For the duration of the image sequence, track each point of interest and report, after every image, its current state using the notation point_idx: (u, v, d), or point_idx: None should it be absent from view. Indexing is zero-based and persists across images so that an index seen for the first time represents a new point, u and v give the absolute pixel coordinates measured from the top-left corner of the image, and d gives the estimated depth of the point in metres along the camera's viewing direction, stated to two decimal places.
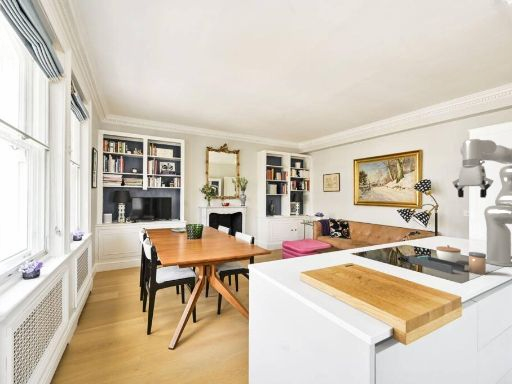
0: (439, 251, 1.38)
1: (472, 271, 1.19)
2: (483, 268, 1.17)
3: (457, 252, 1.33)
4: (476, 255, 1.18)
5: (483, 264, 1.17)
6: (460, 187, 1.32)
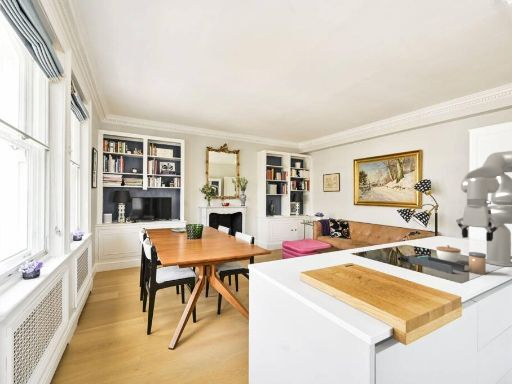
0: (439, 251, 1.38)
1: (472, 271, 1.19)
2: (483, 268, 1.17)
3: (457, 252, 1.33)
4: (476, 255, 1.18)
5: (483, 264, 1.17)
6: (464, 227, 1.23)
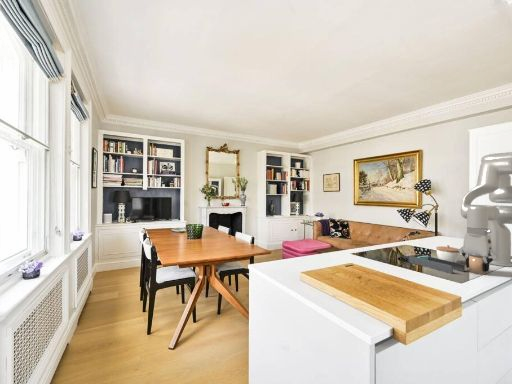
0: (439, 251, 1.38)
1: (472, 271, 1.19)
2: None
3: (457, 252, 1.33)
4: (476, 255, 1.18)
5: None
6: (468, 256, 1.22)
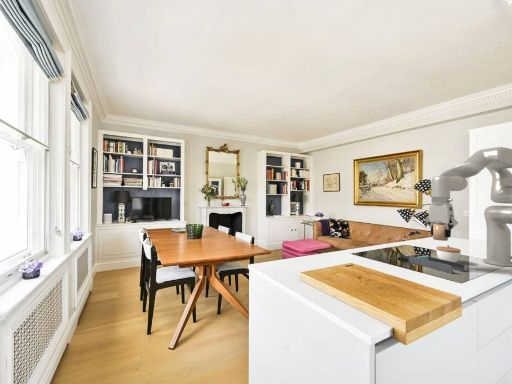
0: (439, 251, 1.38)
1: (435, 238, 1.26)
2: None
3: (457, 252, 1.33)
4: (439, 222, 1.25)
5: None
6: (432, 224, 1.29)
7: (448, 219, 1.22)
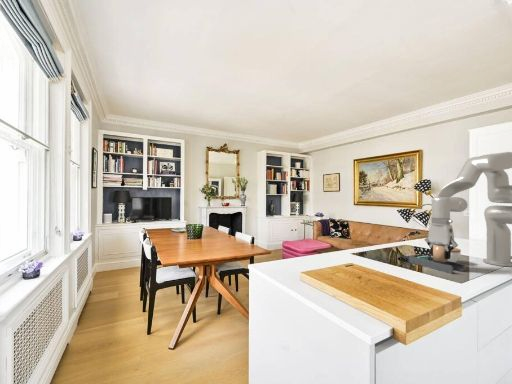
0: None
1: (435, 259, 1.26)
2: None
3: (457, 252, 1.33)
4: (439, 244, 1.25)
5: None
6: (432, 245, 1.29)
7: (448, 241, 1.22)
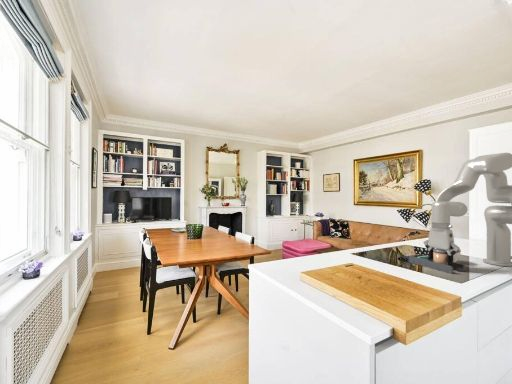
0: None
1: None
2: None
3: (457, 252, 1.33)
4: (439, 251, 1.25)
5: (445, 260, 1.24)
6: (430, 249, 1.30)
7: (448, 246, 1.22)
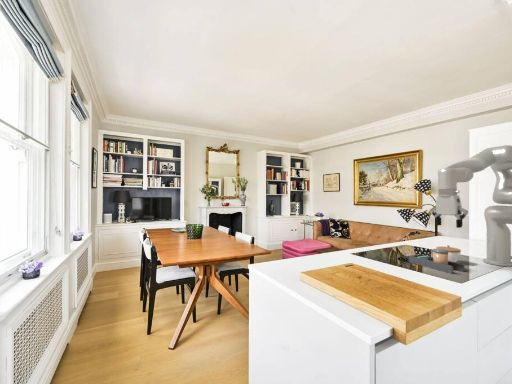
0: None
1: None
2: None
3: (457, 252, 1.33)
4: (439, 251, 1.25)
5: (445, 260, 1.24)
6: (437, 215, 1.31)
7: (456, 211, 1.23)
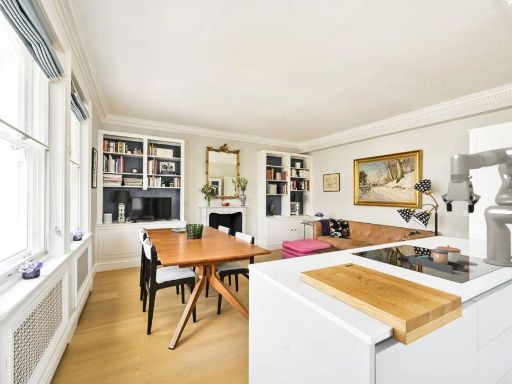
0: None
1: None
2: None
3: (457, 252, 1.33)
4: (439, 251, 1.25)
5: (445, 260, 1.24)
6: (448, 201, 1.32)
7: (468, 196, 1.23)
